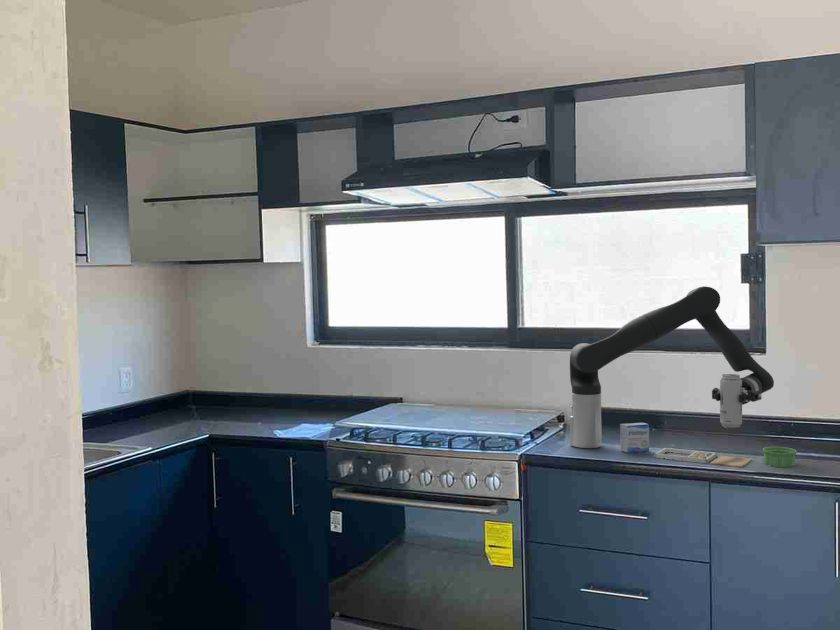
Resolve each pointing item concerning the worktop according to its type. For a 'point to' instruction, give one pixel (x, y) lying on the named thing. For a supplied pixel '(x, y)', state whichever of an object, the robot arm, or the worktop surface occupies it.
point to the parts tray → (694, 457)
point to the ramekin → (779, 456)
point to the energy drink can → (730, 400)
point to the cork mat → (731, 461)
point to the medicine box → (634, 437)
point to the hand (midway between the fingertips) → (728, 398)
